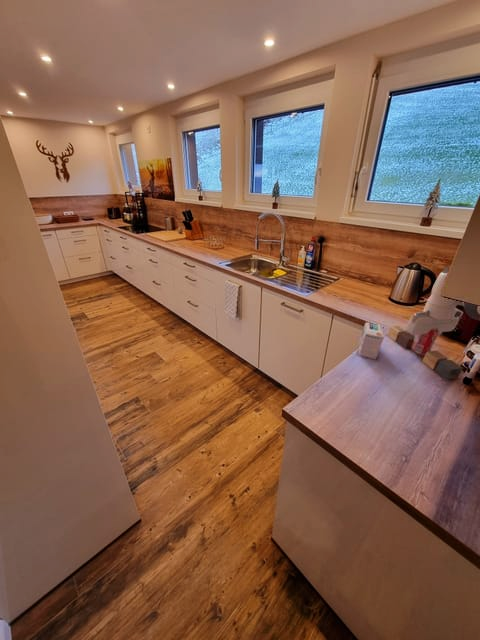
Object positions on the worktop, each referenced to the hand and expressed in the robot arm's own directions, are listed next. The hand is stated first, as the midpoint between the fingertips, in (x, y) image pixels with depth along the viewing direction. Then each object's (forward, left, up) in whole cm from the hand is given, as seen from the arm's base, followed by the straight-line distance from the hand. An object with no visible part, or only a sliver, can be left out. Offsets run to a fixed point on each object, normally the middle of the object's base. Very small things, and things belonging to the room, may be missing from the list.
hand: (424, 340), depth 106 cm
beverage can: (0, 0, -5) cm, 5 cm away
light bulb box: (+20, -6, -7) cm, 22 cm away
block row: (0, 0, -7) cm, 7 cm away
